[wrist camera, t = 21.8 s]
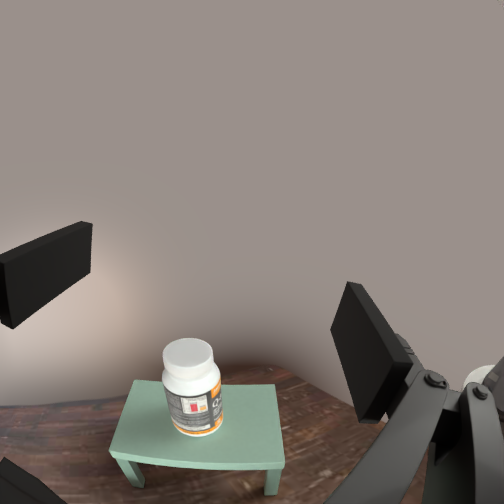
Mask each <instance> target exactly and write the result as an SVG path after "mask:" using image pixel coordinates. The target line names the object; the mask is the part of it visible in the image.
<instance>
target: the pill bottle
mask: <svg viewBox="0 0 504 504" xmlns="http://www.w3.org/2000/svg"><path fill="white" fill-rule="evenodd" d="M163 361H164V366H165V369H164V371H163V374H162V382H163V386H164V391H165V394H166V398H167V403H168V408H169V411H170V415H171V418H172V421H173V424H174V426H175V427H176V428H177V429H178V430H179V431H180V432H181V433H183V434H186V435H188V436H194V437H200V436H206V435H209V434H211V433H213V432H215V431H216V430H217V429H218V428H219V427H220V425H221V424H222V421H223V407H222V393H221V380H220V372H219V369H218V367H217V366H216V364H215V363H214V362H213V351H212V348H211V346H210V345H209V344H208V343H206V342H205V341H203V340H200V339H195V338H184V339H179V340H176V341H173V342H171V343H170V344H168V345H167V346H166V347H165V349H164V351H163Z"/></svg>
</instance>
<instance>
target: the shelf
mask: <svg viewBox="0 0 504 504" xmlns="http://www.w3.org/2000/svg"><path fill="white" fill-rule="evenodd" d="M221 393H222V407H223V421H222V424H221V425H220V427H219V428H218V429H217V430H216V431H215V432H213V433H211V434H209V435H206V436H200V437H194V436H188V435H186V434H183V433H181V432H180V431H179V430H178V429H177V428H176V427H175V426H174V424H173V421H172V418H171V415H170V411H169V408H168V403H167V398H166V394H165V391H164V386H163V382H156V381H145V380H134V383H133V385H132V388H131V390H130V393H129V395H128V398H127V401H126V403H125V406H124V409H123V411H122V414H121V417H120V420H119V422H118V425H117V428H116V431H115V434H114V437H113V439H112V442H111V445H110V448H109V452H110V453H111V455H112V457H113V458H115V459H116V460H117V462H118V464H119V466H120V467H121V469H122V471H123V472H124V474H125V475H126V477H127V479H128V480H129V482H130V483H131V485H132V486H134V487H139V488H144V483H145V478H144V476H143V474H142V472H141V471H140V469H139V467H138V465H137V463H136V462H140V463H147V464H154V465H162V466H171V467H181V468H193V469H210V470H265V478H264V495H277V491H278V486H279V481H280V476H281V471H282V469H284V465H285V457H284V449H283V442H282V435H281V427H280V420H279V413H278V405H277V398H276V391H275V385H274V384H270V385H221Z"/></svg>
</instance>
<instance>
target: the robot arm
mask: <svg viewBox="0 0 504 504" xmlns="http://www.w3.org/2000/svg"><path fill="white" fill-rule="evenodd" d="M498 1H499V2H500V4H501V5H502V7H503V8H504V0H498ZM92 226H93V224H92V223H88V222H83V221H80V222H77V223H75V224H72V225H70V226H67V227H64V228H62V229H59V230H57V231H54V232H52V233H49V234H47V235H44V236H42V237H39V238H37V239H35V240H33V241H30V242H28V243H25V244H23V245H20V246H18V247H16V248H14V249H11V250H9V251H7V252H5V253H2V254H0V320H1V323H2V324H3V325H5V326H7V327H9V328H11V329H14V328H16V327H17V326H18V325H19V324H21V323H22V322H23V321H25V320H26V319H27V318H29V317H30V316H31V315H32V314H34V313H35V312H36V311H38V310H39V309H40V308H42V307H43V306H44V305H46V304H47V303H49V302H50V301H51V300H53V299H54V298H55V297H57V296H58V295H59V294H61V293H62V292H64V291H65V290H66V289H68V288H69V287H71V286H72V285H73V284H75V283H76V282H77V281H79V280H81V279H82V278H83V277H85V276H86V275H88V274H89V273H90V267H91V242H92ZM330 330H331V333H332V336H333V339H334V343H335V346H336V349H337V352H338V355H339V358H340V361H341V364H342V368H343V371H344V374H345V377H346V380H347V384H348V387H349V390H350V394H351V397H352V400H353V404H354V407H355V411H356V414H357V417H358V421H359V423H369V424H378V423H379V421H380V420H381V418H382V417H383V415H384V414H385V412H386V414H387V415H388V419H389V420H388V422H387V423H386V425H385V426H384V428H383V429H382V430H381V432H380V433H379V435H378V436H377V438H376V439H375V440H374V442H373V443H372V445H371V446H370V447H369V449H368V450H367V451H366V453H365V454H364V455H363V457H362V458H361V459H360V460H359V462H358V463H357V464H356V466H355V467H354V468H353V469H352V471H351V472H350V473H349V474H348V475H347V477H346V478H345V479H344V480H343V481H342V483H341V484H340V485H339V486H338V487H337V488H336V489H335V491H334V492H333V493H332V494H331V495H330V496H329V497H328V498H327V499H326V501H325V502H324V503H323V504H400V502H401V501H402V499H403V497H404V495H405V493H406V491H407V490H408V488H409V486H410V484H411V482H412V480H413V478H414V476H415V474H416V472H417V470H418V468H419V466H420V463H421V461H422V459H423V457H424V455H425V452H426V450H427V448H428V445H429V452H428V462H427V471H426V479H425V486H424V492H423V498H422V504H504V440H503V435H502V430H501V425H500V421H501V422H503V423H504V357H503V358H502V359H501V360H500V361H499V362H498V364H497V365H496V366H495V367H494V368H493V369H492V370H491V371H490V372H489V373H488V374H487V375H486V377H485V378H484V380H483V382H482V384H479V383H475V382H471V383H468V384H467V385H466V387H465V388H464V390H463V392H458V391H454V390H450V389H449V384H448V382H447V381H446V379H445V378H444V377H443V376H441V375H440V374H438V373H436V372H434V371H431V370H425V369H424V367H423V366H422V364H421V363H420V361H419V360H418V358H417V356H416V355H414V352H413V350H412V349H411V347H410V346H409V345H408V343H407V342H406V340H404V339H403V338H402V337H401V336H400V335H399V334H395V333H394V332H393V330H392V328H391V327H390V325H389V324H388V322H387V321H386V319H385V318H384V316H383V315H382V314H381V312H380V311H379V309H378V308H377V306H376V305H375V303H374V302H373V300H372V299H371V298H370V296H369V295H368V293H367V292H366V290H365V289H364V288H363V286H362V285H361V284H357V283H353V282H347V284H346V287H345V290H344V293H343V296H342V299H341V301H340V304H339V307H338V310H337V313H336V315H335V318H334V321H333V324H332V326H331V329H330ZM0 504H67V503H66V502H65V501H63V500H62V499H61V498H60V497H59V496H57V495H56V494H55V493H54V492H53V491H52V490H50V489H49V488H48V487H47V486H46V485H45V484H44V483H43V482H41V481H40V480H39V479H38V478H36V477H35V476H33V475H31V474H30V473H28V472H26V471H25V470H23V469H22V468H20V467H19V466H17V465H16V464H14V463H13V462H11V461H10V460H8V459H7V458H5V457H4V458H3V459H2V460H1V462H0Z"/></svg>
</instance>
